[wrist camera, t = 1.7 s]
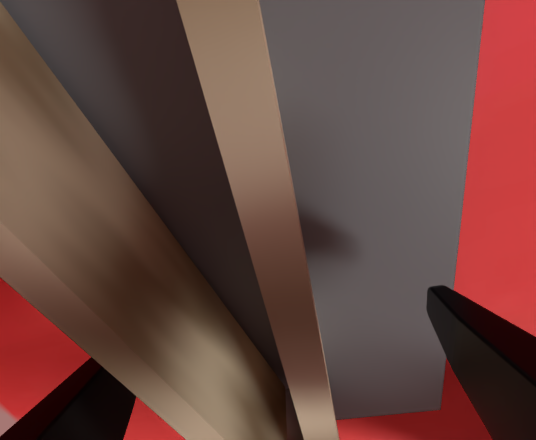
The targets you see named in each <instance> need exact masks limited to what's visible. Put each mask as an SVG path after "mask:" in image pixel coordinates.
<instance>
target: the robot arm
mask: <svg viewBox="0 0 536 440" xmlns="http://www.w3.org/2000/svg"><path fill="white" fill-rule="evenodd" d="M426 309H427V314H428V317H429V319H430V321H431V323H432V326H433V328H434V330H435V332H436V335H437V337H438V339H439V341H440V343H441V346H442V348H443V350H444V352H445V355H446V357H447V359H448V361H449V363H450V365H451V368H452V369H453V371H454V373H455V375H456V377H457V378H458V380H459V382H460V384H461V385H462V387H463V389H464V391H465V392H466V394H467V396H468V397H469V399H470V401H471V403H472V404H473V406H474V408H475V410H476V411H477V413H478V415H479V416H480V418H481V420H482V422H483V423H484V425H485V427H486V428H487V430H488V432H489V434H490V435H491V437H492V439H493V440H536V337H535V336H533V335H531V334H530V333H528V332H526V331H524V330H523V329H521V328H519V327H517V326H515V325H514V324H512V323H510V322H508V321H507V320H505V319H503V318H501V317H500V316H498V315H496V314H494V313H493V312H491V311H489V310H487V309H486V308H484V307H482V306H480V305H479V304H477V303H475V302H473V301H472V300H470V299H468V298H466V297H465V296H463V295H461V294H459V293H457V292H456V291H454V290H452V289H450V288H449V287H447V286H445V285H438V286H431V287H429V288H428V290H427V305H426ZM135 399H136V395H134V394H133V393H132V392H131V391H130V390H129V389H128V388H126V387H125V386H124V385H123V384H122V383H121V382H120V381H118V380H117V379H116V378H115V377H114V376H113V375H112V374H110V373H109V372H108V371H107V370H106V369H105V368H104V367H102V366H101V365H100V364H99V363H98V362H97V361H96V360H94V359H93V358H92V357H91V358H90V359H89V360H87V361H86V362H85V363H84V364H83V365H82V366H81V367H79V368H78V369H77V370H76V371H75V372H74V373H73V374H71V375H70V376H69V377H68V378H67V379H66V380H65V381H63V382H62V383H61V384H60V385H59V386H58V387H57V388H55V389H54V390H53V391H52V392H51V393H50V394H48V395H47V396H46V397H45V398H44V399H43V400H42V401H40V402H39V403H38V404H37V405H36V406H35V407H34V408H32V409H31V410H30V411H29V412H28V413H27V414H26V415H24V416H23V417H22V418H21V419H20V420H19V421H18V422H16V423H15V424H14V425H13V426H12V427H11V428H10V429H8V430H7V431H6V432H5V433H4V434H3V435H2V436H0V440H123V438H124V435H125V432H126V429H127V426H128V423H129V420H130V417H131V413H132V410H133V407H134V403H135Z"/></svg>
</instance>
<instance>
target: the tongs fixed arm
mask: <svg viewBox="0 0 536 440" xmlns="http://www.w3.org/2000/svg"><path fill="white" fill-rule="evenodd" d="M176 1H177V4H178V8H179V11H180V15H181V18H182V22H183V25H184V28H185V32H186V35H187V39H188V42H189V46H190V49H191V53H192V56H193V59H194V63H195V66H196V70H197V73H198V77H199V80H200V83H201V87H202V90H203V94H204V97H205V101H206V104H207V108H208V111H209V114H210V118H211V121H212V125H213V128H214V132H215V135H216V139H217V142H218V145H219V149H220V152H221V156H222V159H223V163H224V166H225V169H226V173H227V176H228V180H229V183H230V187H231V190H232V194H233V197H234V200H235V204H236V207H237V211H238V214H239V218H240V221H241V225H242V228H243V231H244V235H245V238H246V242H247V245H248V249H249V252H250V256H251V259H252V262H253V266H254V269H255V273H256V276H257V280H258V283H259V286H260V290H261V293H262V297H263V300H264V304H265V307H266V311H267V314H268V317H269V321H270V324H271V328H272V331H273V335H274V338H275V342H276V345H277V348H278V352H279V355H280V359H281V362H282V366H283V369H284V372H285V376H286V379H287V383H288V386H289V388H288V389H286V390H285V393H286V421H287V440H339V434H338V429H337V423H336V417H335V411H334V406H333V400H332V395H331V389H330V384H329V378H328V373H327V367H326V362H325V356H324V351H323V345H322V340H321V334H320V329H319V324H318V318H317V313H316V307H315V302H314V296H313V291H312V285H311V280H310V274H309V269H308V264H307V258H306V253H305V247H304V242H303V236H302V231H301V225H300V220H299V215H298V209H297V204H296V198H295V193H294V187H293V182H292V176H291V171H290V165H289V160H288V155H287V149H286V144H285V138H284V133H283V127H282V122H281V116H280V111H279V105H278V100H277V95H276V89H275V84H274V78H273V73H272V67H271V62H270V56H269V51H268V46H267V40H266V35H265V29H264V24H263V18H262V13H261V7H260V2H259V0H176Z"/></svg>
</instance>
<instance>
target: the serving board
mask: <svg viewBox="0 0 536 440" xmlns="http://www.w3.org/2000/svg"><path fill="white" fill-rule="evenodd" d="M0 2H1V3H2V5H3V6H4V7H5V9H6V10H7V11H8V13H9V14H10V15H11V17H12V18H13V20H14V21H15V22H16V24H17V25H18V26H19V28H20V29H21V30H22V32H23V33H24V34H25V36H26V37H27V38H28V40H29V41H30V43H31V44H32V45H33V47H34V48H35V49H36V51H37V52H38V53H39V55H40V56H41V57H42V59H43V60H44V61H45V63H46V64H47V66H48V67H49V68H50V70H51V71H52V72H53V74H54V75H55V76H56V78H57V79H58V80H59V82H60V83H61V84H62V86H63V87H64V89H65V90H66V91H67V93H68V94H69V95H70V97H71V98H72V99H73V101H74V102H75V103H76V105H77V106H78V107H79V109H80V110H81V112H82V113H83V114H84V116H85V117H86V118H87V120H88V121H89V122H90V124H91V125H92V126H93V128H94V129H95V130H96V132H97V133H98V135H99V136H100V137H101V139H102V140H103V141H104V143H105V144H106V145H107V147H108V148H109V149H110V151H111V152H112V153H113V155H114V156H115V158H116V159H117V160H118V162H119V163H120V164H121V166H122V167H123V168H124V170H125V171H126V172H127V174H128V175H129V176H130V178H131V179H132V181H133V182H134V183H135V185H136V186H137V187H138V189H139V190H140V191H141V193H142V194H143V195H144V197H145V198H146V199H147V201H148V202H149V204H150V205H151V206H152V208H153V209H154V210H155V212H156V213H157V214H158V216H159V217H160V218H161V220H162V221H163V222H164V224H165V225H166V227H167V228H168V229H169V231H170V232H171V233H172V235H173V236H174V237H175V239H176V240H177V241H178V243H179V244H180V245H181V247H182V248H183V250H184V251H185V252H186V254H187V255H188V256H189V258H190V259H191V260H192V262H193V263H194V264H195V266H196V267H197V268H198V270H199V271H200V272H201V274H202V275H203V277H204V278H205V279H206V281H207V282H208V283H209V285H210V286H211V287H212V289H213V290H214V291H215V293H216V294H217V295H218V297H219V298H220V300H221V301H222V302H223V304H224V305H225V306H226V308H227V309H228V310H229V312H230V313H231V314H232V316H233V317H234V318H235V320H236V321H237V323H238V324H239V325H240V327H241V328H242V329H243V331H244V332H245V333H246V335H247V336H248V337H249V339H250V340H251V341H252V343H253V344H254V346H255V347H256V348H257V350H258V351H259V352H260V354H261V355H262V356H263V358H264V359H265V360H266V362H267V363H268V364H269V366H270V367H271V369H272V370H273V371H274V373H275V374H276V375H277V377H278V378H279V379H280V381H281V382H282V383H283V385H284V386H285V390H286V389H288V388H289V386H288V383H287V379H286V376H285V372H284V369H283V366H282V362H281V359H280V355H279V352H278V348H277V345H276V342H275V338H274V335H273V331H272V328H271V324H270V321H269V317H268V314H267V311H266V307H265V304H264V300H263V297H262V293H261V290H260V286H259V283H258V280H257V276H256V273H255V269H254V266H253V262H252V259H251V256H250V252H249V249H248V245H247V242H246V238H245V235H244V231H243V228H242V225H241V221H240V218H239V214H238V211H237V207H236V204H235V200H234V197H233V194H232V190H231V187H230V183H229V180H228V176H227V173H226V169H225V166H224V163H223V159H222V156H221V152H220V149H219V145H218V142H217V139H216V135H215V132H214V128H213V125H212V121H211V118H210V114H209V111H208V108H207V104H206V101H205V97H204V94H203V90H202V87H201V83H200V80H199V77H198V73H197V70H196V66H195V63H194V59H193V56H192V53H191V49H190V46H189V42H188V39H187V35H186V32H185V28H184V25H183V22H182V18H181V15H180V11H179V8H178V4H177V1H176V0H0ZM259 2H260V7H261V13H262V18H263V24H264V29H265V35H266V40H267V46H268V51H269V56H270V62H271V67H272V73H273V78H274V84H275V89H276V95H277V100H278V105H279V111H280V116H281V122H282V127H283V133H284V138H285V144H286V149H287V155H288V160H289V165H290V171H291V176H292V182H293V187H294V193H295V198H296V204H297V209H298V215H299V220H300V225H301V231H302V236H303V242H304V247H305V253H306V258H307V264H308V269H309V274H310V280H311V285H312V291H313V296H314V302H315V307H316V313H317V318H318V324H319V329H320V334H321V340H322V345H323V351H324V356H325V362H326V367H327V373H328V378H329V384H330V389H331V395H332V400H333V406H334V411H335V417H336V420H341V419H351V418H361V417H371V416H382V415H392V414H402V413H413V412H423V411H433V410H441V400H442V391H443V382H444V373H445V364H446V355H445V352H444V350H443V348H442V346H441V343H440V341H439V339H438V337H437V335H436V332H435V330H434V328H433V326H432V323H431V321H430V319H429V317H428V314H427V309H426V305H427V290H428V288H429V287H431V286H438V285H445V286H447V287H449V288H450V289H452V290H454V281H455V272H456V262H457V253H458V244H459V235H460V226H461V216H462V207H463V198H464V189H465V179H466V170H467V161H468V152H469V143H470V133H471V124H472V115H473V106H474V97H475V87H476V78H477V69H478V60H479V51H480V41H481V32H482V23H483V14H484V5H485V0H259Z"/></svg>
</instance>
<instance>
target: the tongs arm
mask: <svg viewBox="0 0 536 440" xmlns="http://www.w3.org/2000/svg"><path fill="white" fill-rule="evenodd" d="M0 277H1V278H2V279H3V280H4V281H5V282H6V283H7V284H9V285H10V286H11V287H12V288H13V289H14V290H15V291H17V292H18V293H19V294H20V295H21V296H22V297H23V298H25V299H26V300H27V301H28V302H29V303H30V304H31V305H33V306H34V307H35V308H36V309H37V310H38V311H40V312H41V313H42V314H43V315H44V316H45V317H46V318H48V319H49V320H50V321H51V322H52V323H53V324H54V325H56V326H57V327H58V328H59V329H60V330H61V331H62V332H64V333H65V334H66V335H67V336H68V337H69V338H70V339H72V340H73V341H74V342H75V343H76V344H77V345H78V346H80V347H81V348H82V349H83V350H84V351H85V352H86V353H88V354H89V355H90V356H91V357H92V358H93V359H94V360H96V361H97V362H98V363H99V364H100V365H101V366H102V367H104V368H105V369H106V370H107V371H108V372H109V373H110V374H112V375H113V376H114V377H115V378H116V379H117V380H118V381H120V382H121V383H122V384H123V385H124V386H125V387H126V388H128V389H129V390H130V391H131V392H132V393H133V394H134V395H136V396H137V397H138V398H139V399H140V400H141V401H142V402H144V403H145V404H146V405H147V406H148V407H149V408H150V409H152V410H153V411H154V412H155V413H156V414H157V415H159V416H160V417H161V418H162V419H163V420H164V421H165V422H167V423H168V424H169V425H170V426H171V427H172V428H173V429H175V430H176V431H177V432H178V433H179V434H180V435H181V436H183V437H184V438H185V439H186V440H287V421H286V393H285V386H284V385H283V383H282V382H281V381H280V379H279V378H278V377H277V375H276V374H275V373H274V371H273V370H272V369H271V367H270V366H269V364H268V363H267V362H266V360H265V359H264V358H263V356H262V355H261V354H260V352H259V351H258V350H257V348H256V347H255V346H254V344H253V343H252V341H251V340H250V339H249V337H248V336H247V335H246V333H245V332H244V331H243V329H242V328H241V327H240V325H239V324H238V323H237V321H236V320H235V318H234V317H233V316H232V314H231V313H230V312H229V310H228V309H227V308H226V306H225V305H224V304H223V302H222V301H221V300H220V298H219V297H218V295H217V294H216V293H215V291H214V290H213V289H212V287H211V286H210V285H209V283H208V282H207V281H206V279H205V278H204V277H203V275H202V274H201V272H200V271H199V270H198V268H197V267H196V266H195V264H194V263H193V262H192V260H191V259H190V258H189V256H188V255H187V254H186V252H185V251H184V250H183V248H182V247H181V245H180V244H179V243H178V241H177V240H176V239H175V237H174V236H173V235H172V233H171V232H170V231H169V229H168V228H167V227H166V225H165V224H164V222H163V221H162V220H161V218H160V217H159V216H158V214H157V213H156V212H155V210H154V209H153V208H152V206H151V205H150V204H149V202H148V201H147V199H146V198H145V197H144V195H143V194H142V193H141V191H140V190H139V189H138V187H137V186H136V185H135V183H134V182H133V181H132V179H131V178H130V176H129V175H128V174H127V172H126V171H125V170H124V168H123V167H122V166H121V164H120V163H119V162H118V160H117V159H116V158H115V156H114V155H113V153H112V152H111V151H110V149H109V148H108V147H107V145H106V144H105V143H104V141H103V140H102V139H101V137H100V136H99V135H98V133H97V132H96V130H95V129H94V128H93V126H92V125H91V124H90V122H89V121H88V120H87V118H86V117H85V116H84V114H83V113H82V112H81V110H80V109H79V107H78V106H77V105H76V103H75V102H74V101H73V99H72V98H71V97H70V95H69V94H68V93H67V91H66V90H65V89H64V87H63V86H62V84H61V83H60V82H59V80H58V79H57V78H56V76H55V75H54V74H53V72H52V71H51V70H50V68H49V67H48V66H47V64H46V63H45V61H44V60H43V59H42V57H41V56H40V55H39V53H38V52H37V51H36V49H35V48H34V47H33V45H32V44H31V43H30V41H29V40H28V38H27V37H26V36H25V34H24V33H23V32H22V30H21V29H20V28H19V26H18V25H17V24H16V22H15V21H14V20H13V18H12V17H11V15H10V14H9V13H8V11H7V10H6V9H5V7H4V6H3V5H2V3H1V2H0Z"/></svg>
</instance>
